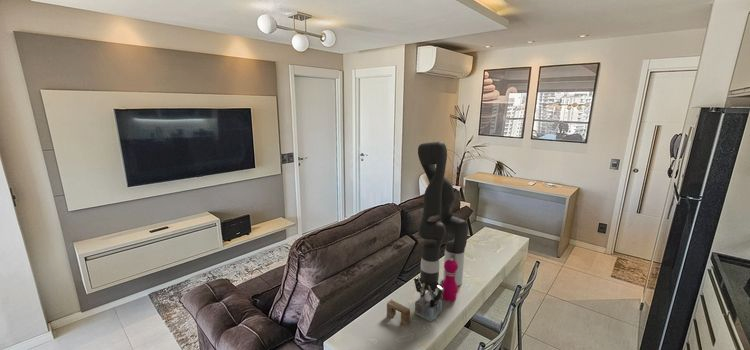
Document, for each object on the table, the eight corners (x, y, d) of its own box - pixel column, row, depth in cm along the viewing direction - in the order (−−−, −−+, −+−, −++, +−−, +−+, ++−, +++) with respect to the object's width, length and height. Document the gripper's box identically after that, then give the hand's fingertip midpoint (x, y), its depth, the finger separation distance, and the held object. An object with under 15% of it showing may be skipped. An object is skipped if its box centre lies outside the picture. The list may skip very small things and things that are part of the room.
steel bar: (434, 293, 141) (435, 285, 140) (442, 297, 139) (443, 289, 138) (414, 310, 129) (415, 302, 128) (422, 315, 127) (423, 306, 126)
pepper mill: (454, 292, 147) (457, 253, 143) (458, 302, 140) (462, 261, 136) (439, 292, 147) (441, 253, 142) (442, 302, 140) (445, 261, 135)
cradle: (425, 302, 140) (426, 292, 138) (441, 310, 134) (442, 300, 133) (414, 313, 133) (414, 302, 132) (430, 321, 128) (431, 310, 127)
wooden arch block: (391, 312, 133) (391, 299, 132) (409, 322, 127) (410, 309, 126) (386, 315, 131) (387, 303, 130) (405, 326, 125) (406, 313, 124)
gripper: (410, 265, 131) (408, 301, 135) (440, 277, 122) (438, 316, 126) (420, 258, 136) (418, 293, 140) (449, 270, 127) (447, 307, 131)
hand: (427, 304), depth 133 cm, fingers closed on steel bar, 4 cm apart
